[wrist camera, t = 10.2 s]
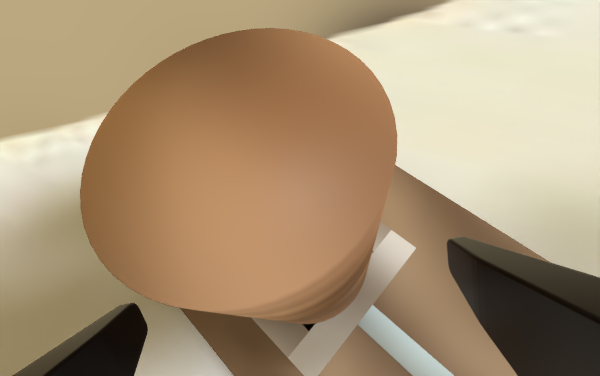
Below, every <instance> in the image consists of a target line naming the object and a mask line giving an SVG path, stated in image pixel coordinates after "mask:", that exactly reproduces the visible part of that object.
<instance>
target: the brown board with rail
mask: <svg viewBox="0 0 600 376" xmlns="http://www.w3.org/2000/svg"><path fill="white" fill-rule="evenodd" d="M460 236H464V237H468V238H471V239H474V240H478V241H481V242H484V243H487V244H491V245H494V246H497V247H501V248H504V249H507V250H510V251H514V252H517V253H520V254H524V255H527V256H530V257H533V258H537V259H540V260H543V261H547V260H546V259H544V258H542V257H541V256H539V255H538V254H536V253H534V252H533V251H531V250H530V249H528V248H526V247H525V246H523V245H522V244H520V243H518V242H517V241H515V240H514V239H512V238H510V237H509V236H507V235H506V234H504V233H502V232H501V231H499V230H498V229H496V228H494V227H493V226H491V225H490V224H488V223H487V222H485V221H483V220H482V219H480V218H479V217H477V216H475V215H474V214H472V213H471V212H469V211H467V210H466V209H464V208H463V207H461V206H459V205H458V204H456V203H455V202H453V201H451V200H450V199H448V198H447V197H445V196H443V195H442V194H440V193H439V192H437V191H436V190H434V189H432V188H431V187H429V186H428V185H426V184H424V183H423V182H421V181H420V180H418V179H416V178H415V177H413V176H412V175H410V174H408V173H407V172H405V171H404V170H402V169H400V168H399V167H397V166H396V165H395V167H394V172H393V177H392V181H391V185H390V188H389V192H388V196H387V199H386V203H385V207H384V210H383V214H382V218H381V221H380V225H379V229H378V232H377V236H376V240H375V244H374V247H373V251H372V255H371V258H370V262H369V266H368V269H367V273H366V277H365V280H364V283H363V286H362V288H361V290H360V292H359V293H358V295H357V296H356V298H355V299H354V301H353V302H352V303H351V304H350V305H349V306H348V307H347V308H346V309H345V310H343V311H342V312H341V313H339V314H338V315H336V316H335V317H333V318H330V319H328V320H326V321H323V322H319V323H313V324H296V323H289V322H281V321H274V320H266V319H259V318H251V317H243V316H236V315H228V314H221V313H213V312H206V311H198V310H191V309H185V308H181V310H182V311H183V312H184V314H185V315H186V316H187V317H188V319H189V320H190V321H191V322H192V324H193V325H194V326H195V327H196V329H197V330H198V331H199V332H200V334H201V335H202V336H203V337H204V339H205V340H206V341H207V342H208V344H209V345H210V346H211V347H212V349H213V350H214V351H215V352H216V354H217V355H218V356H219V357H220V359H221V360H222V361H223V362H224V364H225V365H226V366H227V367H228V369H229V370H230V371H231V372H232V374H233V375H234V376H518V375H517V374H516V373H515V371H514V370H513V369H512V367H511V366H510V364H509V363H508V362H507V360H506V359H505V358H504V356H503V355H502V353H501V352H500V351H499V349H498V348H497V347H496V345H495V344H494V342H493V341H492V340H491V338H490V337H489V336H488V334H487V333H486V331H485V330H484V328H483V327H482V326H481V324H480V323H479V321H478V319H477V318H476V316H475V314H474V313H473V311H472V309H471V307H470V306H469V304H468V302H467V301H466V299H465V297H464V295H463V294H462V292H461V290H460V288H459V287H458V285H457V283H456V281H455V280H454V278H453V276H452V274H451V272H450V270H449V266H448V255H447V241H448V239H450V238H455V237H460ZM547 262H549V261H547Z"/></svg>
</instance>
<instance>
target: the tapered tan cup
mask: <svg viewBox="0 0 600 376" xmlns="http://www.w3.org/2000/svg"><path fill="white" fill-rule="evenodd" d="M396 156H397V131H396V124H395V117H394V114H393V111H392V107H391V104H390V101H389V99H388V97H387V95H386V93H385V91H384V89H383V87H382V85H381V83H380V82H379V81H378V79H377V78H376V77H375V75H374V74H373V72H372V71H371V70H370V69H369V68H368V67H367V66H366V65H365V64H364V63H363V62H362V61H361V60H360V59H359V58H357V57H356V56H355V55H353V54H352V53H351V52H349V51H348V50H346V49H345V48H343V47H341V46H339V45H338V44H336V43H334V42H332V41H329V40H327V39H324V38H322V37H319V36H316V35H313V34H309V33H305V32H301V31H295V30H289V29H275V28H265V29H251V30H242V31H236V32H231V33H226V34H222V35H219V36H215V37H213V38H209V39H206V40H203V41H201V42H198V43H196V44H193V45H191V46H189V47H187V48H185V49H183V50H181V51H179V52H177V53H175V54H173V55H172V56H170V57H168V58H167V59H165V60H163V61H162V62H160V63H159V64H157V65H156V66H155V67H153V68H152V69H151V70H149V71H148V72H146V73H145V74H144V75H143V76H142V77H141V78H139V79H138V80H137V81H136V82H135V83H134V84H133V85H132V86H131V87H130V88H129V89H128V90H127V91H126V92H125V93H124V94H123V95H122V96H121V97H120V98H119V100H118V101H117V102H116V103H115V105H114V106H113V107H112V109H111V110H110V111H109V113H108V114H107V116H106V117H105V119H104V120H103V122H102V123H101V125H100V127H99V129H98V131H97V133H96V135H95V137H94V139H93V141H92V143H91V146H90V149H89V151H88V154H87V156H86V160H85V164H84V169H83V173H82V180H81V189H80V199H81V213H82V218H83V223H84V228H85V230H86V233H87V236H88V238H89V241H90V244H91V246H92V247H93V249H94V251H95V252H96V254H97V256H98V257H99V259H100V261H101V262H102V263H103V264H104V265H105V266H106V268H107V269H108V270H109V271H110V272H111V273H112V275H113V276H115V277H116V278H117V279H118V280H120V281H121V282H122V283H123V284H125V285H126V286H127V287H128V288H130V289H132V290H134V291H135V292H137V293H139V294H141V295H143V296H144V297H146V298H148V299H151V300H154V301H157V302H160V303H163V304H166V305H169V306H174V307H179V308H185V309H191V310H198V311H206V312H213V313H221V314H228V315H236V316H243V317H251V318H259V319H266V320H274V321H281V322H289V323H296V324H313V323H319V322H323V321H326V320H328V319H330V318H333V317H335V316H336V315H338V314H339V313H341V312H342V311H343V310H345V309H346V308H347V307H348V306H349V305H350V304H351V303H352V302H353V301H354V299H355V298H356V296H357V295H358V293H359V292H360V290H361V288H362V286H363V283H364V280H365V277H366V273H367V269H368V266H369V262H370V258H371V255H372V251H373V247H374V244H375V240H376V236H377V232H378V229H379V225H380V221H381V218H382V214H383V210H384V207H385V203H386V199H387V196H388V192H389V188H390V185H391V181H392V177H393V172H394V167H395V162H396Z"/></svg>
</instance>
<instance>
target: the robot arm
mask: <svg viewBox="0 0 600 376" xmlns="http://www.w3.org/2000/svg"><path fill="white" fill-rule="evenodd" d="M447 255H448V266H449V270H450V272H451V274H452V276H453V278H454V280H455V281H456V283H457V285H458V287H459V288H460V290H461V292H462V294H463V295H464V297H465V299H466V301H467V302H468V304H469V306H470V307H471V309H472V311H473V313H474V314H475V316H476V318H477V319H478V321H479V323H480V324H481V326H482V327H483V328H484V330H485V331H486V333H487V334H488V336H489V337H490V338H491V340H492V341H493V342H494V344H495V345H496V347H497V348H498V349H499V351H500V352H501V353H502V355H503V356H504V358H505V359H506V360H507V362H508V363H509V364H510V366H511V367H512V369H513V370H514V371H515V373H516V374H517V375H518V376H600V278H599V277H596V276H593V275H589V274H586V273H583V272H579V271H576V270H573V269H570V268H566V267H563V266H560V265H556V264H553V263H550V262H547V261H543V260H540V259H537V258H533V257H530V256H527V255H524V254H520V253H517V252H514V251H510V250H507V249H504V248H501V247H497V246H494V245H491V244H487V243H484V242H481V241H478V240H474V239H471V238H468V237H464V236H460V237H455V238H450V239H448V241H447ZM147 331H148V328H147V324H146V321H145V319H144V317H143V315H142V313H141V311H140V309H139V307H138V306H137V305H136V304H135V303H130V304H125V305H121V306H118V307H117V308H115V309H114V310H112V311H111V312H109V313H108V314H106V315H105V316H103V317H101V318H100V319H98V320H97V321H95V322H94V323H92V324H91V325H89V326H88V327H86V328H85V329H83V330H82V331H80V332H79V333H77V334H76V335H74V336H73V337H71V338H69V339H68V340H66V341H65V342H63V343H62V344H60V345H59V346H57V347H56V348H54V349H53V350H51V351H50V352H48V353H47V354H45V355H44V356H42V357H40V358H39V359H37V360H36V361H34V362H33V363H31V364H30V365H28V366H27V367H25V368H24V369H22V370H21V371H19V372H18V373H16V374H15V375H13V376H134V374H135V371H136V367H137V364H138V361H139V358H140V355H141V351H142V348H143V345H144V342H145V339H146V336H147Z"/></svg>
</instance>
